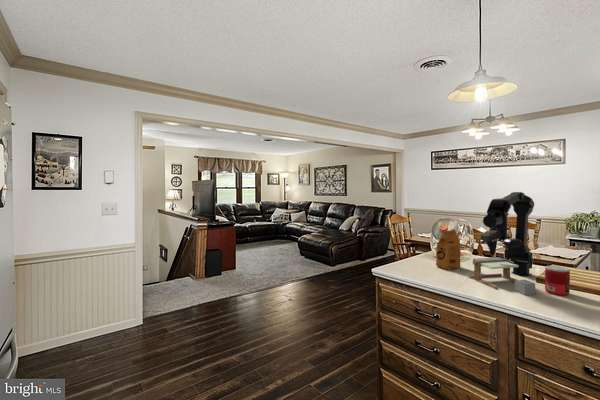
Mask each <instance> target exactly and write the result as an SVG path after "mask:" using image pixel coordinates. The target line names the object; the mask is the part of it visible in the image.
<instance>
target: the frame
mask: <svg viewBox="0 0 600 400" xmlns="http://www.w3.org/2000/svg"><path fill="white" fill-rule="evenodd" d="M504 259H505V261H506V262H509V263H511V261H510V259H509V260H507V259H506V258H504ZM473 265H474V266H473V272H474V274H472V275H469V278H470V279H473V280H474V281H476V282H479V283H481V284H483V285H485V286H487V287H490V288H492V289H494V290H498V289H499V288H498V287H499V286H498V285H496V284H493V283H491V282H489V281H486V280H484V279H486V278H497V277H498V278H499V277H502V278H503V279H505V280H508V281H511V282H514V283H515V280H518V279H517V278H513V277H511V268H502V273H489V274H488V273H487V274H482V266H481V262H479V261H474V264H473ZM483 278H484V279H483Z"/></svg>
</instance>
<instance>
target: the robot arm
mask: <svg viewBox="0 0 600 400" xmlns="http://www.w3.org/2000/svg"><path fill="white" fill-rule="evenodd" d="M512 207H513V211H514V213H515V215H516V222H515V224H516V225H515V238H510V237H511V236H509V235H508V231H510V230H511V229H510V227H508V216H509V215H510V214H509V211H510V210H511V208H512ZM534 208H535V202H534V200H533V198H531V197H530V196H529V195H526V194H525V193H524V192H522V191H514V192H513V191H512V192H511V193H510V194H508V195H506V196H504V197H502V198H493V199H492V200H491V201H489V205H488V207H487V210H486V215H485V216H483V219H482V223H483V225H484V226H485V227H487V228H489V230H488V231H485V232H483V233H482V232H481V234H480V240H481V241H482V242H483V243H484V244H485V245H487V248H488V249H489V253H490V255H491V256H494V255H495V254H496V249H497V245H498V242H500V243H503V247H504V249H505V257H506V258H505V259H507V260H510V263H513V264H515V265H519V267H514V268H512V271H510V274H514V275H517V276H520V277H527V276H533V274H532V273H530V266H531V265H533V264H534V258H533V256H532V254H531V249H530V247H529V246H528V245H527V238H528V227H529V226H528V224H529V217H530V216H531V214H532V212H533V210H534Z"/></svg>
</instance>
